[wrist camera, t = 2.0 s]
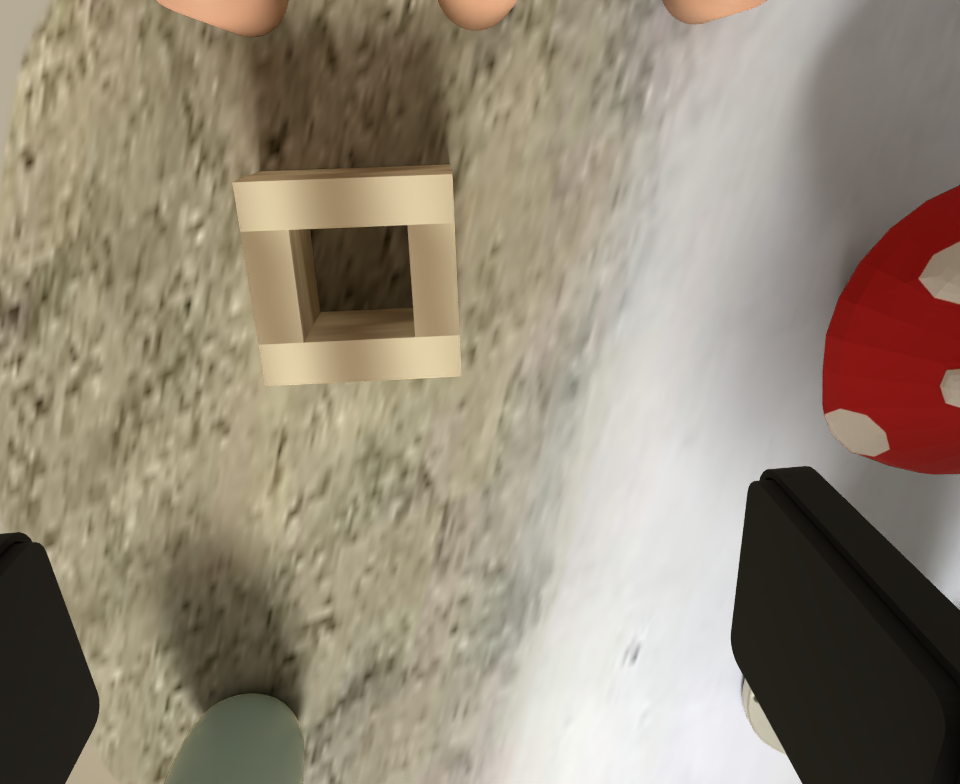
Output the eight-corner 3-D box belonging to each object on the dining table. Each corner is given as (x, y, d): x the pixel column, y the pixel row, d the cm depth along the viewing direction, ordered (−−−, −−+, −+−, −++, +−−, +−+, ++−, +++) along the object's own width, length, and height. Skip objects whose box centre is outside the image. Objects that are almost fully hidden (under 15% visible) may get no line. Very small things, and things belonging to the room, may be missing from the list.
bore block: (450, 164, 34) (452, 173, 29) (457, 342, 37) (461, 376, 32) (260, 171, 33) (232, 182, 29) (286, 350, 37) (265, 386, 32)
